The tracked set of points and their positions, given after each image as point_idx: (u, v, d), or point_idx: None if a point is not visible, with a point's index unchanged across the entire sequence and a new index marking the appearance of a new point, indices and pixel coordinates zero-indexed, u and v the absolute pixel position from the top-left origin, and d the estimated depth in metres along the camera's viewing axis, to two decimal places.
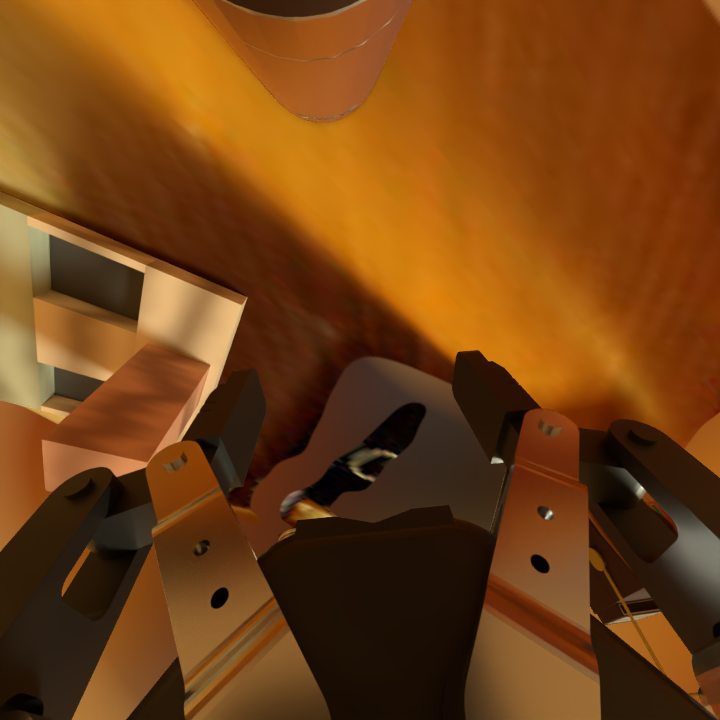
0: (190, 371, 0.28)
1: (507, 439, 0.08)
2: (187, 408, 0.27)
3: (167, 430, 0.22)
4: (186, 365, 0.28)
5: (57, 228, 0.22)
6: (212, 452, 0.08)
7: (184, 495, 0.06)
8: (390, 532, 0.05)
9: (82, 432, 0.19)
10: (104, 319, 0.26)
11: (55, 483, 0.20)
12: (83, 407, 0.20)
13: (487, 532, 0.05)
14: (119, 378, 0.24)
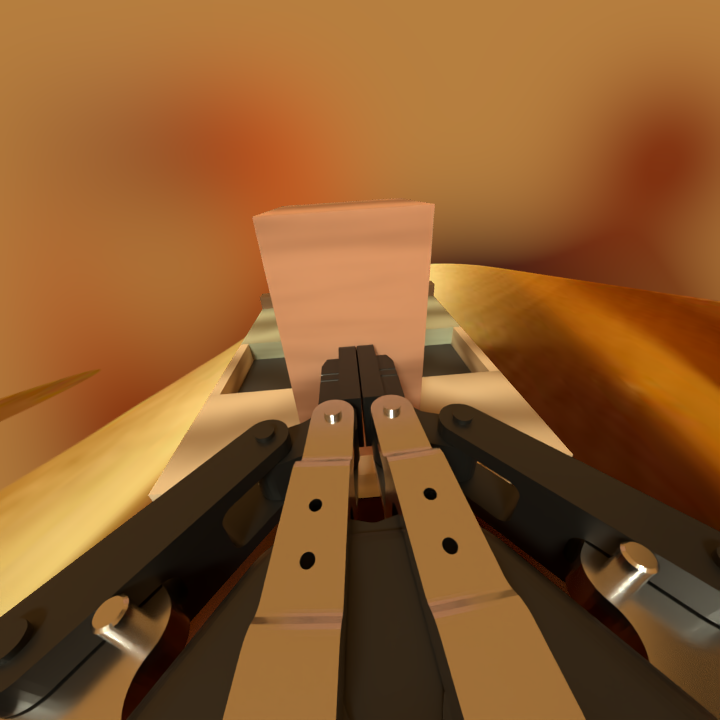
0: None
1: (370, 423, 0.09)
2: None
3: (427, 291, 0.11)
4: None
5: (467, 335, 0.27)
6: None
7: (326, 447, 0.07)
8: (390, 532, 0.05)
9: None
10: None
11: (304, 205, 0.14)
12: None
13: (487, 532, 0.05)
14: None
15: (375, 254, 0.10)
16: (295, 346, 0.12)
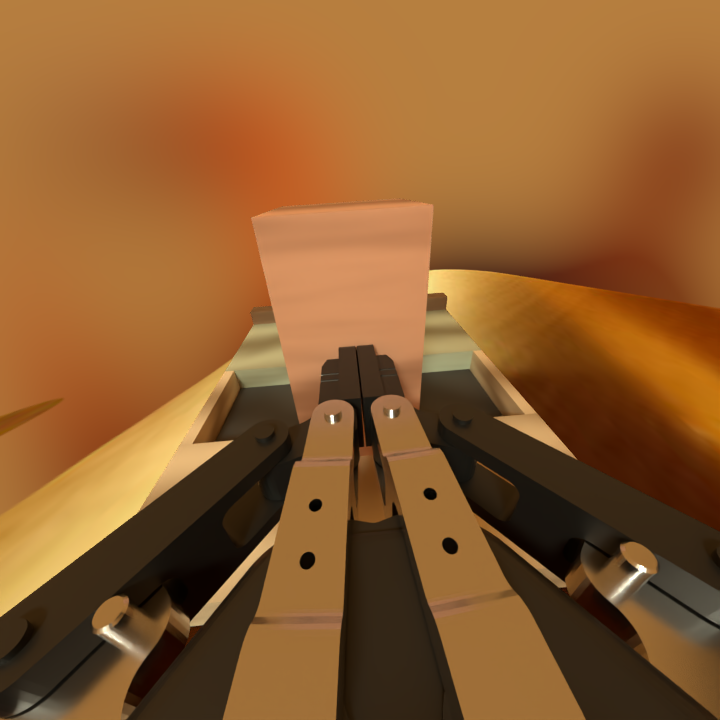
0: None
1: (370, 423, 0.09)
2: None
3: (426, 291, 0.11)
4: None
5: (490, 361, 0.23)
6: None
7: (326, 448, 0.07)
8: (390, 532, 0.05)
9: None
10: None
11: (303, 205, 0.14)
12: None
13: (487, 532, 0.05)
14: None
15: (374, 255, 0.10)
16: (294, 346, 0.12)
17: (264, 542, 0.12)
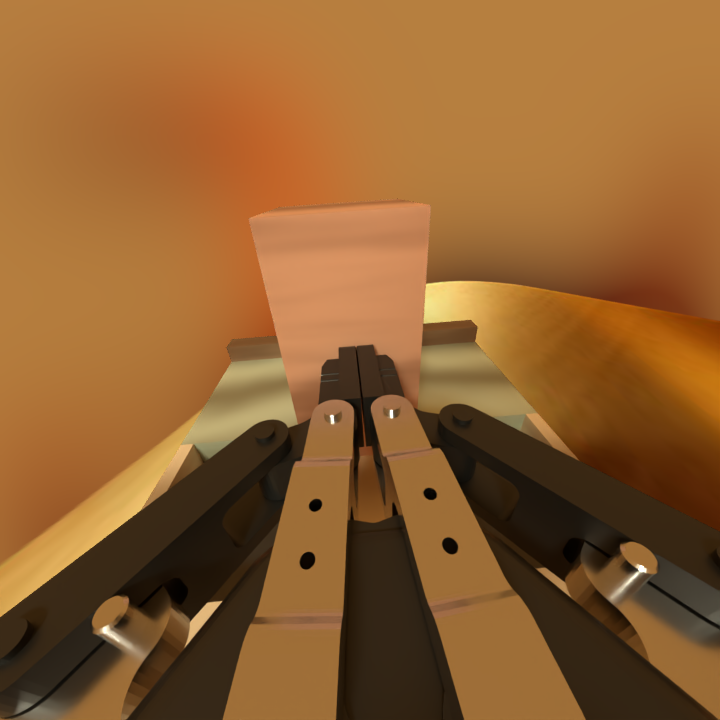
0: None
1: (370, 423, 0.09)
2: None
3: (424, 292, 0.11)
4: None
5: (556, 435, 0.16)
6: None
7: (326, 447, 0.07)
8: (390, 532, 0.05)
9: None
10: None
11: (301, 206, 0.14)
12: None
13: (487, 532, 0.05)
14: None
15: (371, 255, 0.10)
16: (293, 347, 0.12)
17: None
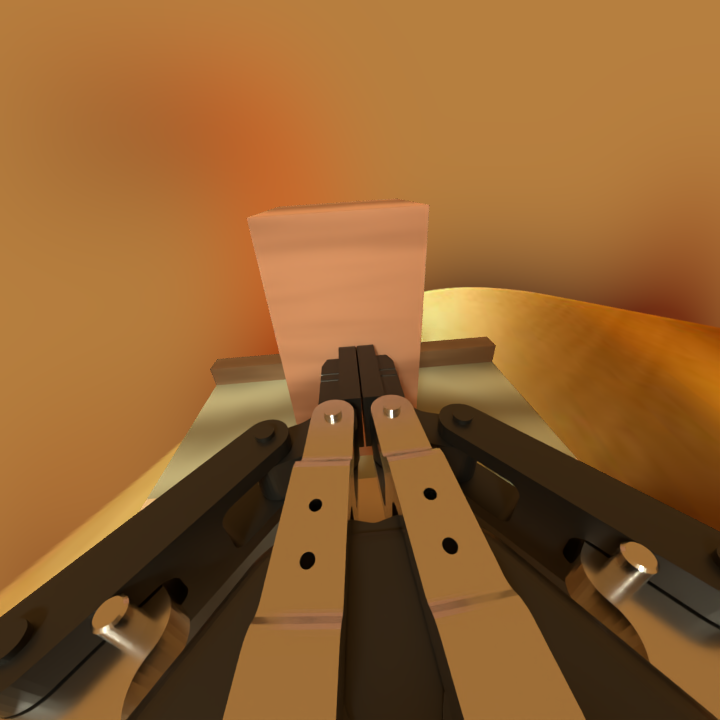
0: None
1: (370, 423, 0.09)
2: None
3: (422, 291, 0.11)
4: None
5: None
6: None
7: (326, 448, 0.07)
8: (390, 532, 0.05)
9: None
10: None
11: (300, 206, 0.14)
12: None
13: (487, 532, 0.05)
14: None
15: (370, 255, 0.10)
16: (291, 347, 0.12)
17: None
